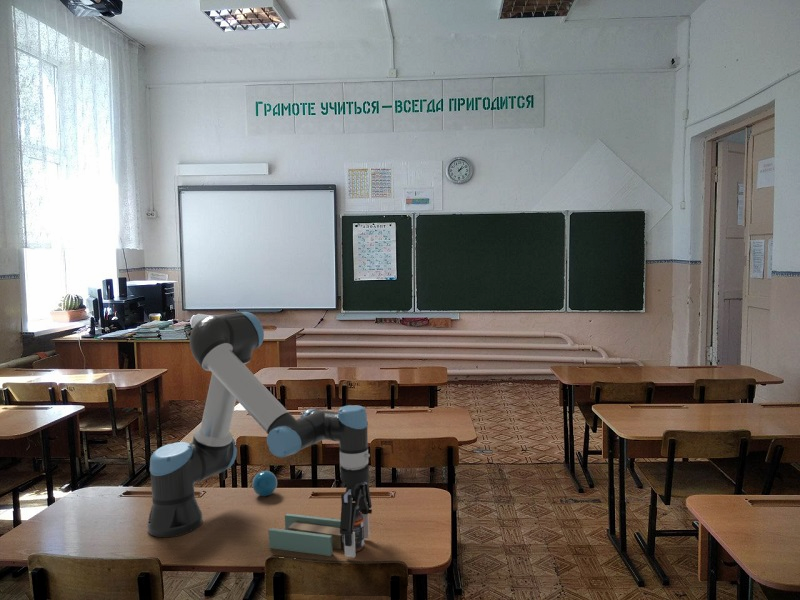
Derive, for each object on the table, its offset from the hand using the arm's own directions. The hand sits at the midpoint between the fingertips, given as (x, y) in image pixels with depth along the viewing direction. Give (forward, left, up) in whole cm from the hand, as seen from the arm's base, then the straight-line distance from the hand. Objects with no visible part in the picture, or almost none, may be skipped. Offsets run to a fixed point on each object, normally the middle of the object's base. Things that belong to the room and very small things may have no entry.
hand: (357, 546), depth 159 cm
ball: (-43, +26, -1) cm, 50 cm away
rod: (-12, +1, -1) cm, 12 cm away
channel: (-15, 0, -1) cm, 15 cm away
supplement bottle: (-1, 0, -1) cm, 2 cm away
